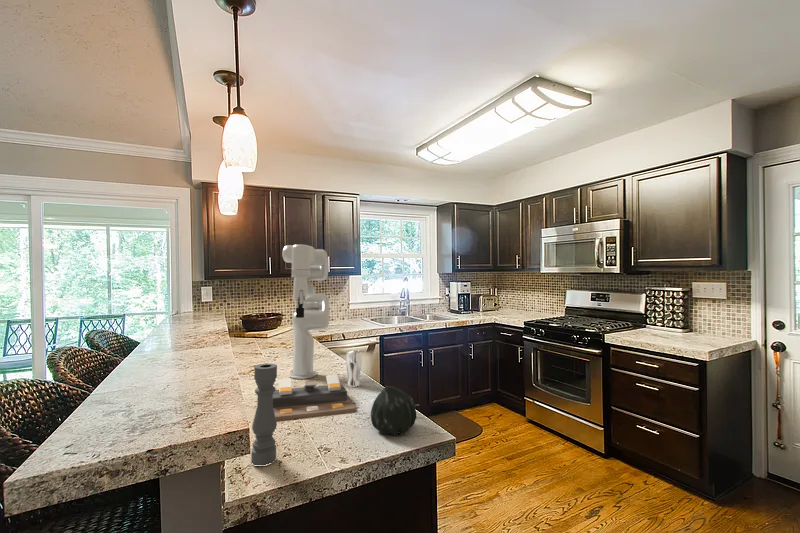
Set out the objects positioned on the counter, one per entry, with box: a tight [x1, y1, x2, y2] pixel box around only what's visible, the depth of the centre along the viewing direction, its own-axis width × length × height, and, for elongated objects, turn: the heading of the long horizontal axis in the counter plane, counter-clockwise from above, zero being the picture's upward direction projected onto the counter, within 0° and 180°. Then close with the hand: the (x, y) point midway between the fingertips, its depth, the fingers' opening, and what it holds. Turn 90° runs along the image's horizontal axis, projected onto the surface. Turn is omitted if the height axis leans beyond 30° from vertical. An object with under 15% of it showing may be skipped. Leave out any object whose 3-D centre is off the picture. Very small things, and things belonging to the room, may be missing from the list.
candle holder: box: [250, 363, 278, 465], centre depth 98 cm, size 6×6×25 cm
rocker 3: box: [325, 374, 341, 391], centre depth 144 cm, size 8×4×1 cm, turn 19°
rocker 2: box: [302, 380, 318, 388], centre depth 142 cm, size 8×4×2 cm, turn 21°
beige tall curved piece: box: [345, 349, 363, 388], centre depth 165 cm, size 7×7×15 cm
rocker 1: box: [278, 378, 293, 395], centre depth 138 cm, size 8×4×1 cm, turn 19°
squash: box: [370, 385, 418, 436], centre depth 118 cm, size 14×15×15 cm
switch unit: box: [273, 383, 357, 422], centre depth 139 cm, size 22×30×6 cm
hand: (299, 317), depth 155 cm, fingers closed
